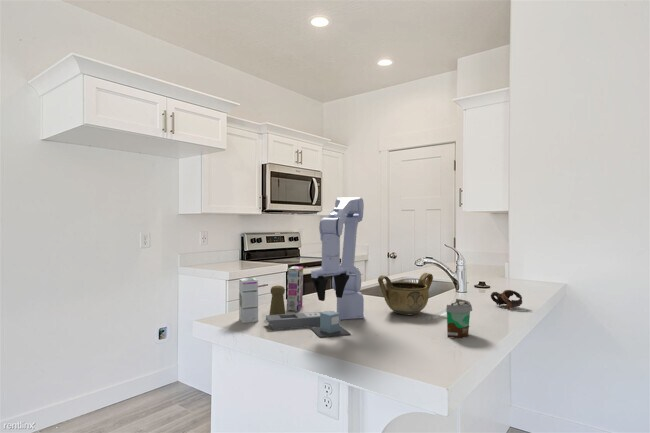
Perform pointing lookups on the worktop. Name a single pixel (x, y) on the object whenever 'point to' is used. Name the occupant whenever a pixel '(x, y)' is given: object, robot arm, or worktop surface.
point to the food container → (458, 318)
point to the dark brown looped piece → (507, 299)
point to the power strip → (294, 320)
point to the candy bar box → (294, 288)
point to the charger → (330, 321)
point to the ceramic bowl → (406, 294)
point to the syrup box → (248, 300)
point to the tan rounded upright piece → (277, 300)
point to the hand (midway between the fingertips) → (330, 298)
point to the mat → (325, 334)
